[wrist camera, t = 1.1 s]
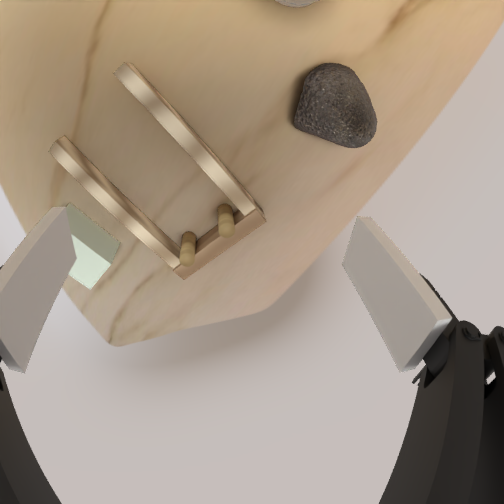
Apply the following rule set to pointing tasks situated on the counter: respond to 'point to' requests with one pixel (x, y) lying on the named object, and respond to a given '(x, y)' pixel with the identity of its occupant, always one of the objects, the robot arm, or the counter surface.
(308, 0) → the cup
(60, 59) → the counter surface
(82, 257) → the block
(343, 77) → the stone
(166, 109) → the wooden u-shaped frame
